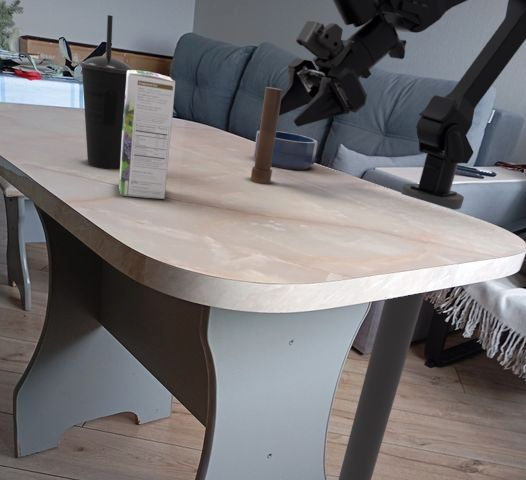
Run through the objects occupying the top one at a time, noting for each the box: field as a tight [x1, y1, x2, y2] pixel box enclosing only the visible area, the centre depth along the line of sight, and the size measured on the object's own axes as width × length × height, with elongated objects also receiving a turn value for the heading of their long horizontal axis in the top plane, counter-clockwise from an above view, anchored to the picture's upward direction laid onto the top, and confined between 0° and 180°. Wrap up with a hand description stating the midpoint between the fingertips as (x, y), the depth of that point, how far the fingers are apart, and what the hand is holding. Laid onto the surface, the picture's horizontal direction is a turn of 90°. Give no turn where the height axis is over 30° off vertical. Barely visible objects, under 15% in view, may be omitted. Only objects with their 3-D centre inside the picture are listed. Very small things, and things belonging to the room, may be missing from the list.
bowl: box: [253, 130, 319, 171], centre depth 117 cm, size 11×11×5 cm
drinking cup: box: [79, 14, 135, 170], centre depth 88 cm, size 8×8×20 cm
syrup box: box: [118, 69, 176, 200], centre depth 78 cm, size 6×6×14 cm
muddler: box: [250, 86, 284, 185], centre depth 96 cm, size 3×3×14 cm
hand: (283, 119), depth 96 cm, fingers open, 9 cm apart
